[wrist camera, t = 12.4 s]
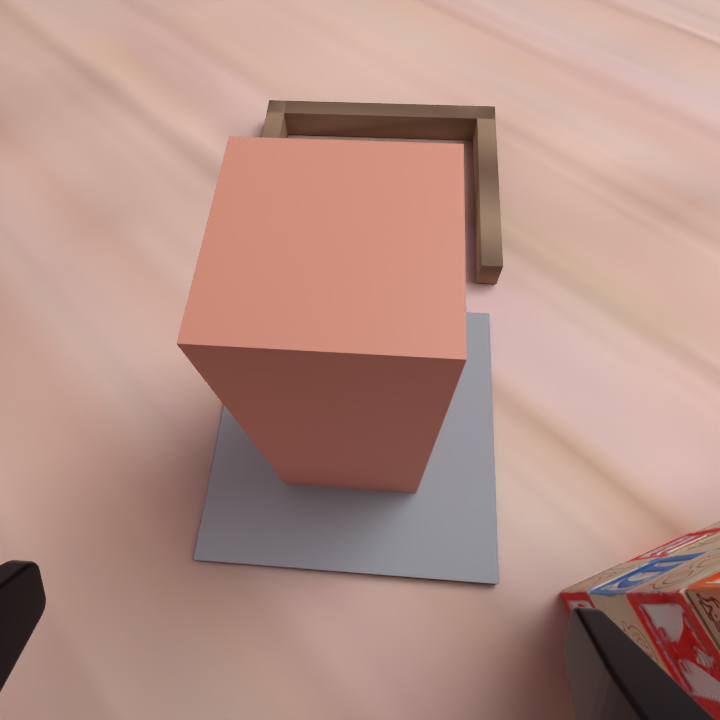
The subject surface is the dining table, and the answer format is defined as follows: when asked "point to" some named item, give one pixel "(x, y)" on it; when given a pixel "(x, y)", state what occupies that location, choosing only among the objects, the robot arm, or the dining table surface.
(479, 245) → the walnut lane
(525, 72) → the dining table surface
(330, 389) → the salmon-pink block
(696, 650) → the stack of blocks
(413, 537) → the slate-grey mat
